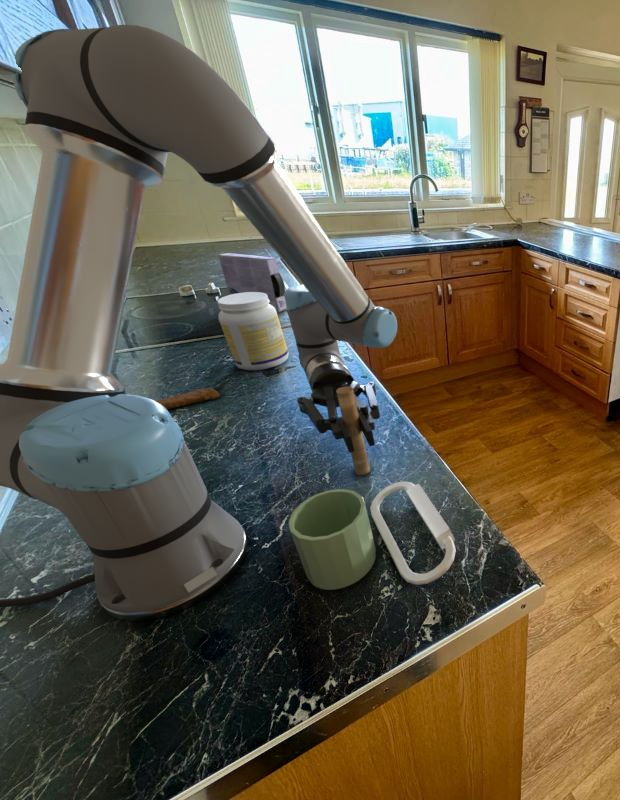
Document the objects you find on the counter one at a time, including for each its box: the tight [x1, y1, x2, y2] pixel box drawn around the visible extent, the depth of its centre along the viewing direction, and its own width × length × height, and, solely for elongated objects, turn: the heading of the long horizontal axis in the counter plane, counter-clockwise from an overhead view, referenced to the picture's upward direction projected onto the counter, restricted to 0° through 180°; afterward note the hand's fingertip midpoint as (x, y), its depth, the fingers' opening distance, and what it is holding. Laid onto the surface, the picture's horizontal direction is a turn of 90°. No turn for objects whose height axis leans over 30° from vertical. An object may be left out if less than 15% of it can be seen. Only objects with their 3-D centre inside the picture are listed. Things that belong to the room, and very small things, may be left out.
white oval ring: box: [369, 481, 457, 586], centre depth 61 cm, size 20×8×4 cm, turn 35°
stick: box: [336, 386, 371, 476], centre depth 70 cm, size 2×2×16 cm
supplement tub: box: [217, 292, 289, 371], centre depth 106 cm, size 12×12×17 cm
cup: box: [288, 488, 377, 591], centre depth 55 cm, size 9×9×9 cm
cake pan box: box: [218, 252, 287, 313], centre depth 143 cm, size 19×5×18 cm, turn 79°
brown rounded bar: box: [155, 387, 221, 410], centre depth 88 cm, size 19×6×4 cm, turn 143°
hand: (360, 441), depth 65 cm, fingers closed on stick, 2 cm apart
